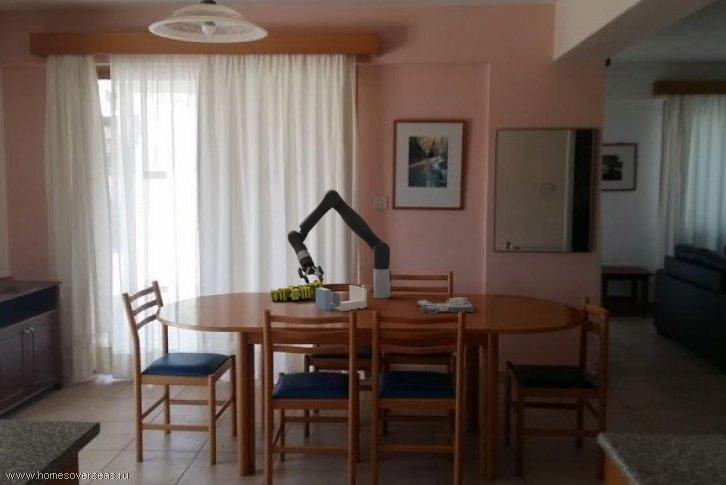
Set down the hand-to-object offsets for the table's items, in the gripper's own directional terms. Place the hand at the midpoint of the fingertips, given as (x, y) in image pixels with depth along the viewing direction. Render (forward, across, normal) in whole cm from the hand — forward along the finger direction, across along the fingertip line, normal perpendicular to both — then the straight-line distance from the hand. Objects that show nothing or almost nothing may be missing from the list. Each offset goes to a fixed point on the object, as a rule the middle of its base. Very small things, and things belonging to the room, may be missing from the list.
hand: (315, 282), depth 342 cm
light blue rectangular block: (+16, 0, +3) cm, 16 cm away
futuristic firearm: (+43, +53, -24) cm, 72 cm away
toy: (-6, 0, +26) cm, 27 cm away
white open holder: (+18, +13, +1) cm, 22 cm away
